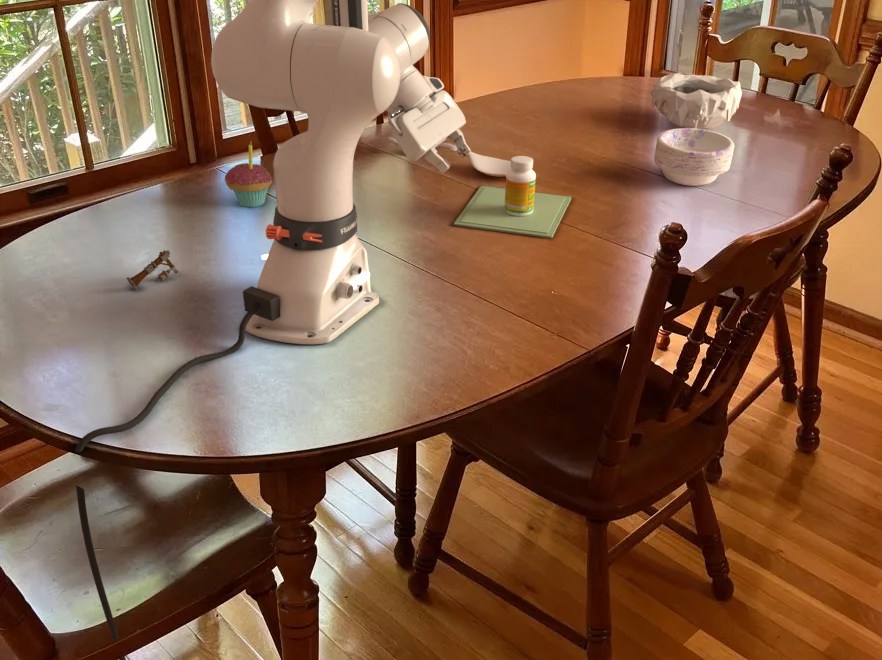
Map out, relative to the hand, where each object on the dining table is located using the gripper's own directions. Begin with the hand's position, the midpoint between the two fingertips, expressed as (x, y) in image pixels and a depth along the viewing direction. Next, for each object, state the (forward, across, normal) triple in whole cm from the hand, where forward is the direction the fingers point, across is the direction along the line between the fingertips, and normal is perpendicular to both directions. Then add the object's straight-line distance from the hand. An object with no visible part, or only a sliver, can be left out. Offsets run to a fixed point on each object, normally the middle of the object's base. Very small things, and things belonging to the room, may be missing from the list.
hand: (457, 162), depth 170 cm
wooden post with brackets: (-15, -52, +27) cm, 60 cm away
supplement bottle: (+14, 0, -4) cm, 15 cm away
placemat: (+14, +1, -3) cm, 14 cm away
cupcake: (-19, -17, +30) cm, 39 cm away
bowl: (+27, +69, -17) cm, 76 cm away
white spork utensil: (0, +20, +11) cm, 23 cm away
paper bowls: (+32, +34, -21) cm, 51 cm away
